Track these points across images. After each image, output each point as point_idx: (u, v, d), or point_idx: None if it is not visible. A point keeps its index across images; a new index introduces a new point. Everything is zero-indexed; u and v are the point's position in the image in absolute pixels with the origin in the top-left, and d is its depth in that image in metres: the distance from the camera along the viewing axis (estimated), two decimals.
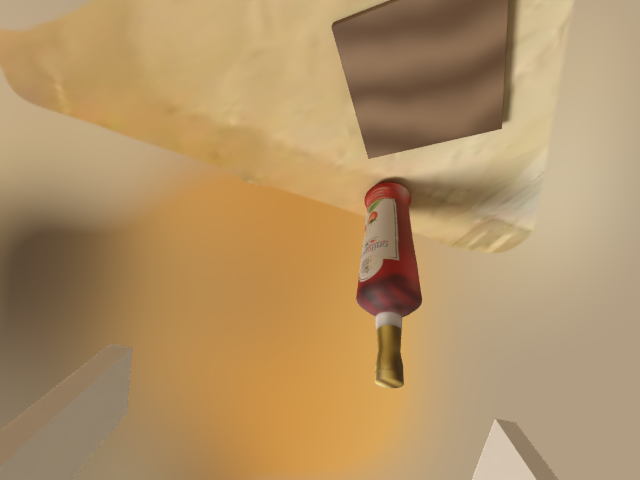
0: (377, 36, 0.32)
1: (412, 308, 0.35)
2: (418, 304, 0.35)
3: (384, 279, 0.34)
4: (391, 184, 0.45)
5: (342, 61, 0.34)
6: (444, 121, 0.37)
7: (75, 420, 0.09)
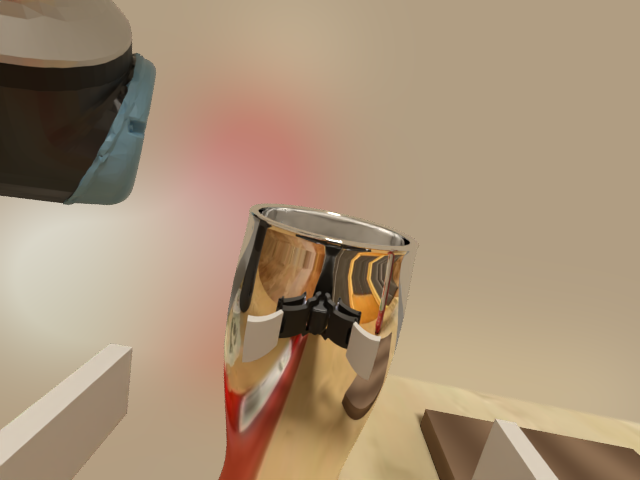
0: None
1: None
2: None
3: None
4: None
5: None
6: None
7: (75, 420, 0.09)
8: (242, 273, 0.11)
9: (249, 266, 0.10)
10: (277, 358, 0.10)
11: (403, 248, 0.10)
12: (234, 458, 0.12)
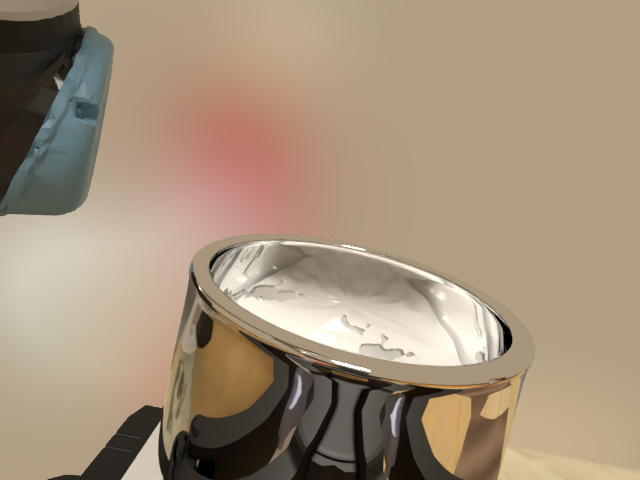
0: None
1: None
2: None
3: None
4: None
5: None
6: None
7: None
8: (170, 397, 0.05)
9: (180, 391, 0.05)
10: None
11: (527, 365, 0.04)
12: None
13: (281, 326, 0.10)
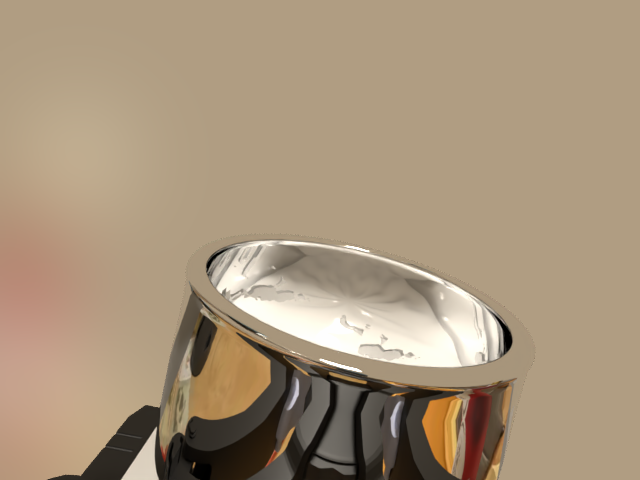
0: None
1: None
2: None
3: None
4: None
5: None
6: None
7: None
8: (167, 398, 0.05)
9: (176, 392, 0.05)
10: None
11: (526, 366, 0.04)
12: None
13: (280, 326, 0.10)
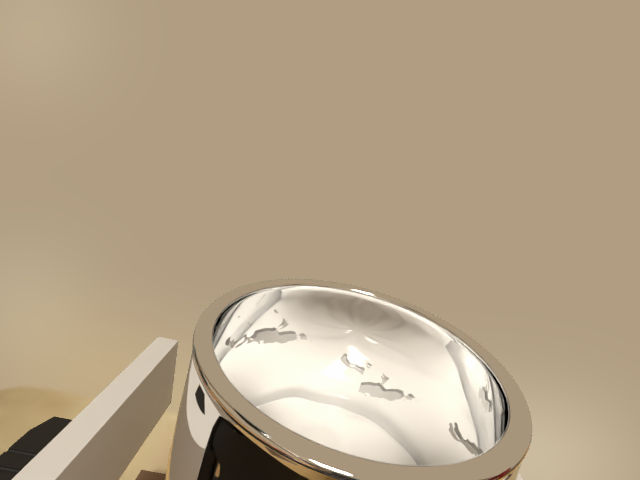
0: None
1: None
2: None
3: None
4: None
5: None
6: None
7: (137, 405, 0.09)
8: (174, 470, 0.05)
9: (184, 469, 0.05)
10: None
11: (523, 454, 0.04)
12: None
13: (282, 365, 0.10)
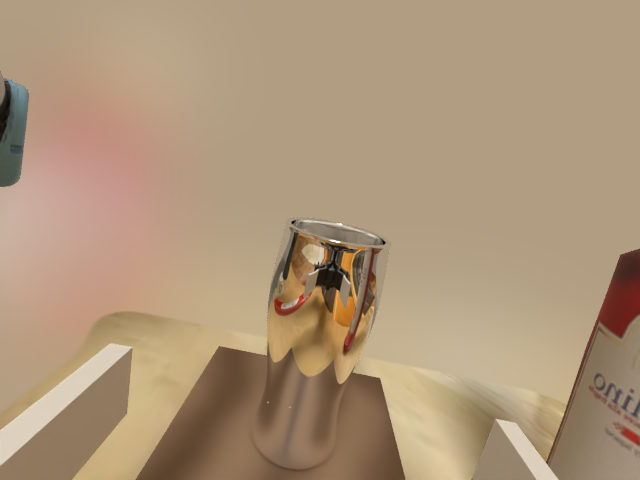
0: (189, 459, 0.19)
1: None
2: None
3: None
4: None
5: None
6: (359, 422, 0.25)
7: (75, 420, 0.09)
8: (283, 261, 0.18)
9: (287, 257, 0.18)
10: (305, 310, 0.17)
11: (379, 247, 0.17)
12: (274, 380, 0.19)
13: None
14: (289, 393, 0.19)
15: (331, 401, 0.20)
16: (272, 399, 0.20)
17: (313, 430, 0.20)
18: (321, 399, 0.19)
